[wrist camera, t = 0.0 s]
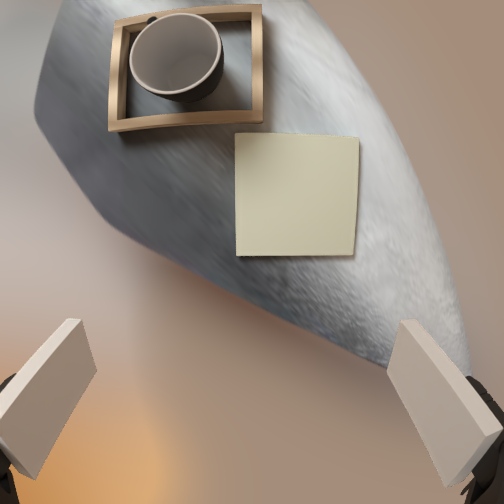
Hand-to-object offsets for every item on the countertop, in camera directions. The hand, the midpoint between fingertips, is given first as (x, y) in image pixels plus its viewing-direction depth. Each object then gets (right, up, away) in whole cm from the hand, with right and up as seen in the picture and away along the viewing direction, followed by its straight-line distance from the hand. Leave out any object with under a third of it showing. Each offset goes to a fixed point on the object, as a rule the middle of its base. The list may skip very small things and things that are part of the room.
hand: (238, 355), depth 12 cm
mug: (-7, +27, +21) cm, 35 cm away
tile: (+6, +11, +26) cm, 29 cm away
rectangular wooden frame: (-7, +27, +21) cm, 35 cm away
